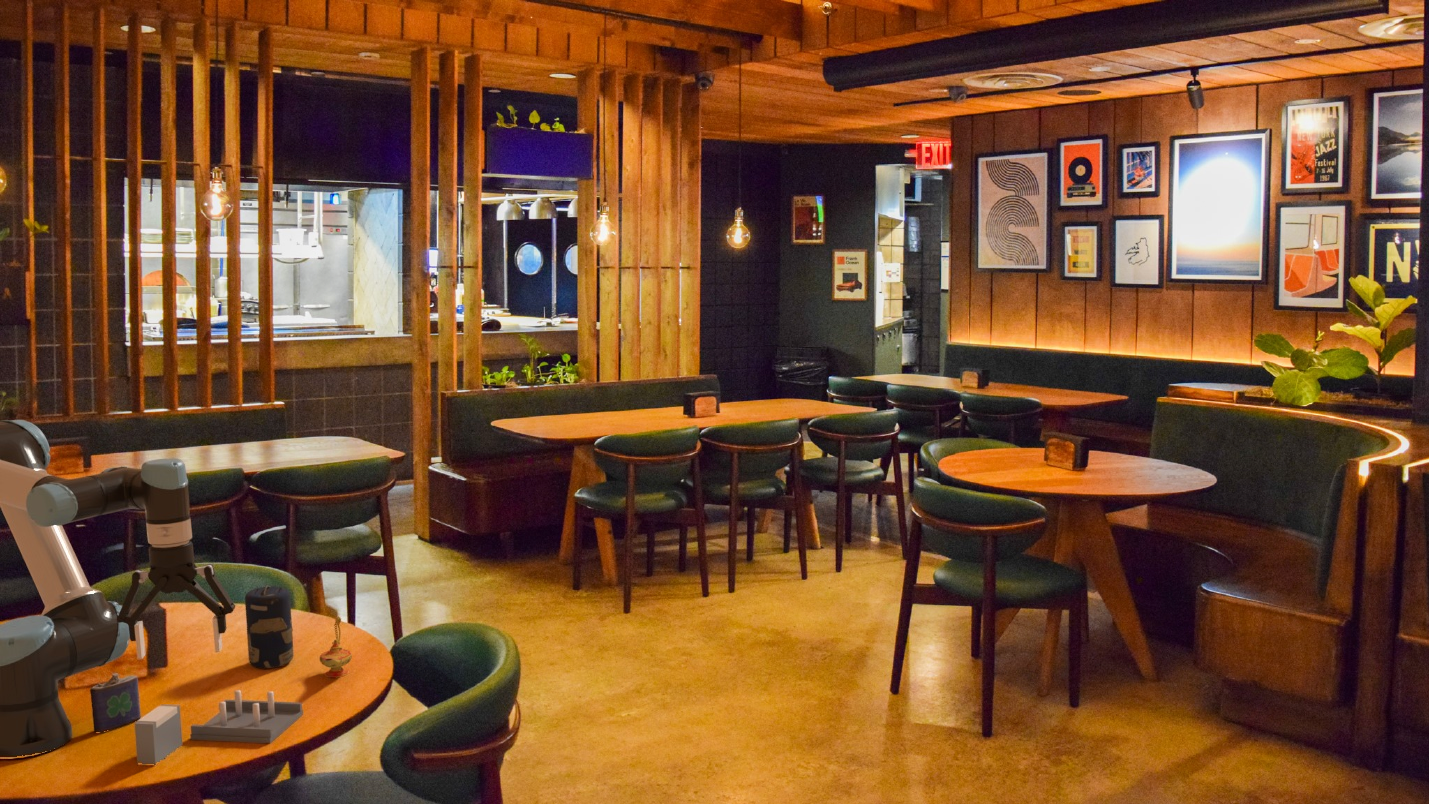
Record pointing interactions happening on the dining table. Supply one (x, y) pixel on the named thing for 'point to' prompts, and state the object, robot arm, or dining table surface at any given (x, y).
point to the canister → (269, 626)
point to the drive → (158, 734)
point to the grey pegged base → (248, 720)
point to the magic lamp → (336, 656)
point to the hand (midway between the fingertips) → (180, 653)
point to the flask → (115, 703)
